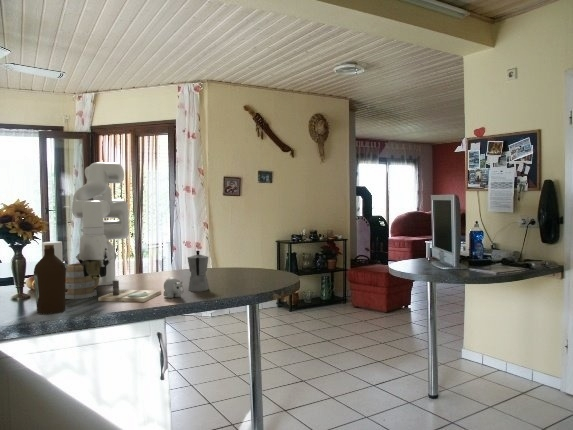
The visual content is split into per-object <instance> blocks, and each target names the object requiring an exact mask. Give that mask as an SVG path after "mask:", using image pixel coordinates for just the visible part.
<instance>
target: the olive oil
mask: <svg viewBox="0 0 573 430" xmlns="http://www.w3.org/2000/svg"><path fill="white" fill-rule="evenodd" d="M44 247H45V249H44V256H43V258H42V257H41V258H40V260H39V261H37V263H36V264H35V265H34V269H33V279H34V280H33V281H34V290H35V301H36V302H35V303H36V313H37V314H38V315H53V314H58V313H62V312H64V311H65V310H66V299H65V293H66V286H65V285H66V281H67V277H66V270H67V267H66V265H65V263H64V262H62V261H61V260H60V259H59V258H57V257H56V256H55V254H54V245H44Z"/></svg>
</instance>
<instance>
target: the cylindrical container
mask: <svg viewBox="0 0 573 430" xmlns="http://www.w3.org/2000/svg"><path fill="white" fill-rule="evenodd" d="M44 245H54V254H55V256H56V257H57V258H59V259H60V260H61V261H62V262H63V241H44V242H41V253H42V254H41V255H42V256H41V259H42V258H43V256H44V249H45V247H44ZM63 263H64V262H63Z"/></svg>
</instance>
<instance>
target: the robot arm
mask: <svg viewBox="0 0 573 430" xmlns="http://www.w3.org/2000/svg"><path fill="white" fill-rule="evenodd" d="M124 171H125V170H124V168H123V166H122V164H120V163H119V162H113V161H112V162H110V161H108V162H103V161H97V162H93V163H91V164H90V165H89V166H88V165H87V166H86V167H85V169H84V175H85V179H86V183H85V184H83V185H82V186H80V187H79V188H78V189H77V190H76V191H75V192H74V194H73V197H72V203H71V213H72V216H73V217H75V218H77V219H82V228H81V229H80V232H81V233H82V235H81V236H80V239H79V240H80V241H79V250H78V251H79V252H78V254H76V255H75V259H76V260H77V261H78V263H81V264H82V267H83V273H84V277H86V276H89V274H88V273H87V271H86V267H85V261H89V262H90V261H99V262H100V261H101V267H100V278H99V283H98V286H109V285H113V281H115V280H118V281H120V280H119V279H116V252H115V250H116V249H115V246H114V245H113V243H112V242H110V240H111V241H112V240H125V239H127V238H128V237H129V234H130V224H129V223H130V222H129V219H130V218H129V205H128V203H127V201H126V200H125V199H122V198H112V188H111V187H110V185H109V184H121V183H122V182H123V181H124V178H125V172H124ZM104 219H113V220H104ZM114 219H117V220H114ZM84 260H85V261H84ZM103 260H104V263H103Z"/></svg>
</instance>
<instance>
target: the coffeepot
mask: <svg viewBox="0 0 573 430" xmlns="http://www.w3.org/2000/svg"><path fill="white" fill-rule="evenodd" d="M195 253H196V254H194V255H191V256H188V257H186V258H187V263H188V269H189V272H190V277H189V283H188V291H190V292H193V293H194V292H205V291H206V292H207V291H208V290H209V289H210V286H209V281H208V275H207V274H206V272H207V270H208V265H209V264H208V263H209V256H208V255H203V254H200V250H195Z"/></svg>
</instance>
